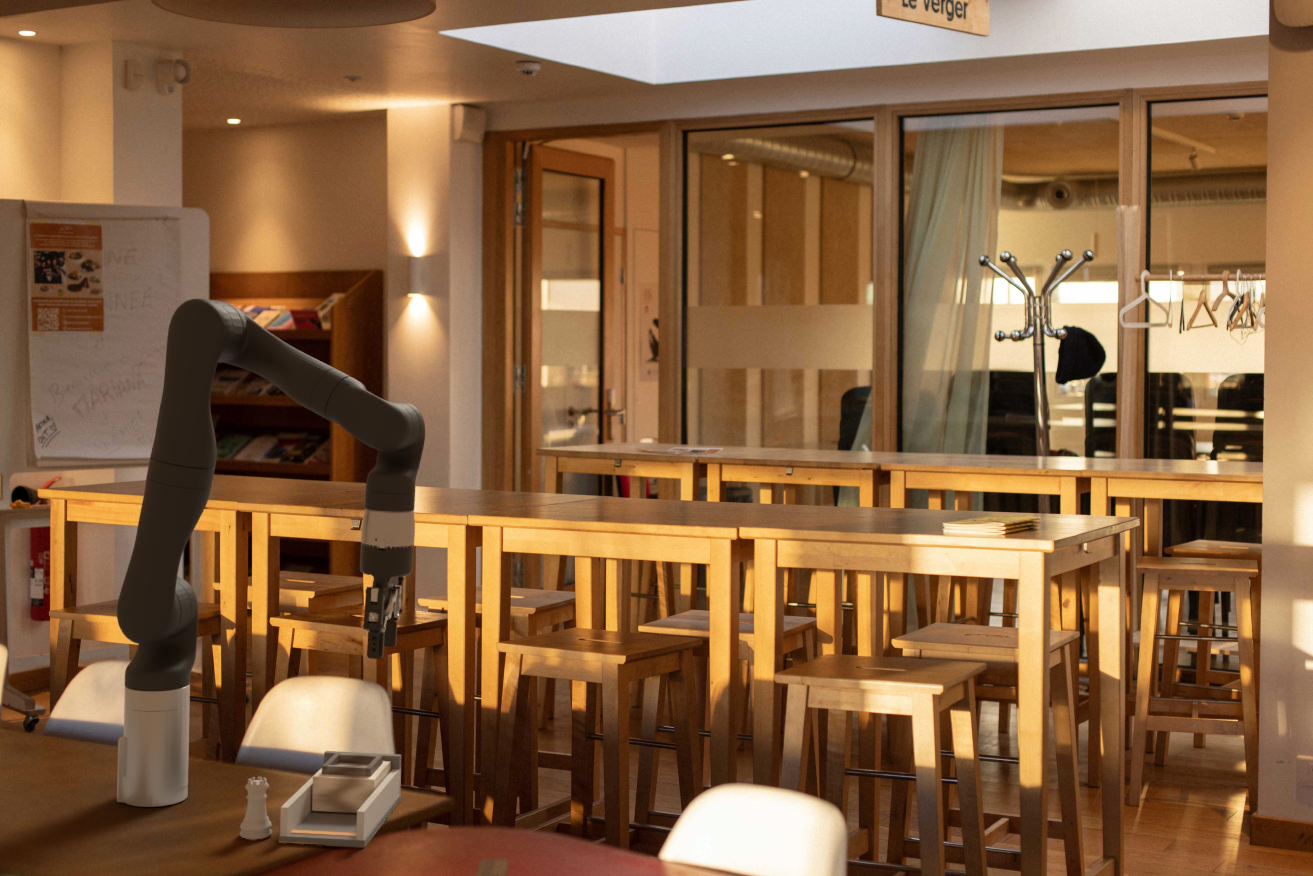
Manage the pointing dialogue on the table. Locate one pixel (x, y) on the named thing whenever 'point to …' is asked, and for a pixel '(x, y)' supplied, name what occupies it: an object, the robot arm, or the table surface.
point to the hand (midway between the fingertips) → (381, 652)
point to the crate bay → (341, 826)
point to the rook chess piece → (256, 811)
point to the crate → (347, 781)
